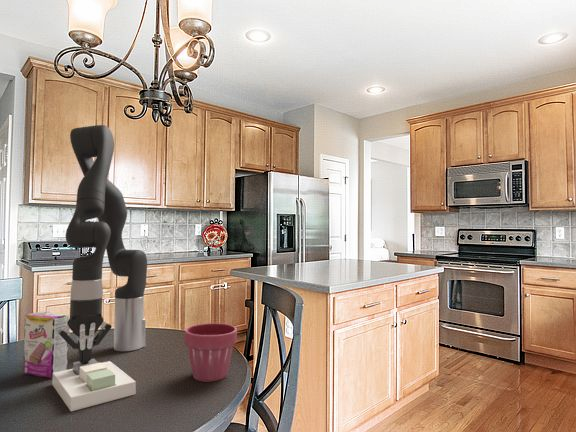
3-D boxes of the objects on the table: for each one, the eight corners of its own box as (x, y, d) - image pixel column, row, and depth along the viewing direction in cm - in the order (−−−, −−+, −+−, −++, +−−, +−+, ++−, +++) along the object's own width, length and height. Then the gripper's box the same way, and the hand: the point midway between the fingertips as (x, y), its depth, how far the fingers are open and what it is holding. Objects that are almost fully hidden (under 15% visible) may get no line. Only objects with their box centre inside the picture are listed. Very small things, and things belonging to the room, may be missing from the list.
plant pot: (247, 375, 107) (247, 328, 107) (204, 390, 96) (204, 338, 97) (215, 363, 116) (216, 320, 117) (173, 375, 106) (174, 328, 107)
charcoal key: (93, 369, 105) (93, 358, 106) (98, 374, 102) (99, 363, 102) (73, 374, 102) (73, 362, 102) (77, 379, 98) (78, 367, 99)
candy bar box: (21, 374, 107) (23, 314, 108) (38, 368, 112) (40, 311, 112) (51, 379, 103) (53, 317, 104) (68, 373, 108) (69, 313, 109)
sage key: (108, 381, 96) (108, 368, 96) (115, 387, 92) (115, 374, 92) (86, 386, 92) (86, 373, 93) (92, 393, 89) (92, 379, 89)
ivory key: (100, 374, 101) (100, 362, 101) (106, 379, 97) (106, 367, 97) (79, 378, 97) (79, 366, 97) (84, 384, 94) (84, 372, 94)
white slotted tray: (109, 371, 109) (109, 361, 109) (135, 394, 94) (135, 381, 94) (52, 384, 100) (52, 372, 100) (70, 411, 85) (71, 397, 85)
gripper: (108, 292, 110) (106, 354, 109) (55, 297, 101) (52, 364, 100) (117, 295, 104) (115, 361, 103) (61, 301, 96) (58, 372, 95)
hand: (84, 363), depth 102 cm, fingers closed
